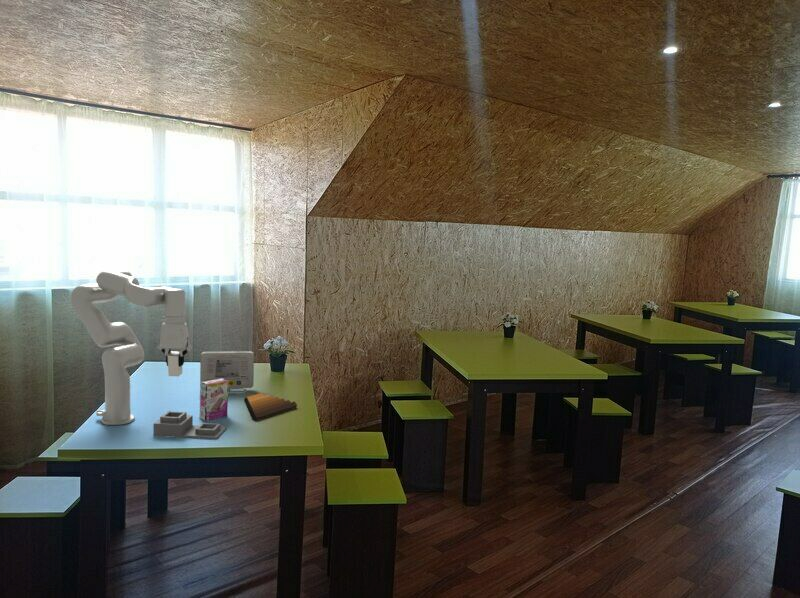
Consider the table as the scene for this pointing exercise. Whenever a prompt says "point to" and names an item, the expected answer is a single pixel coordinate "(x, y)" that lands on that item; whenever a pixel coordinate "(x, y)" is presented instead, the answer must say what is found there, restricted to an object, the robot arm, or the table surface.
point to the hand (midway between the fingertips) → (175, 365)
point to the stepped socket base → (185, 427)
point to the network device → (228, 368)
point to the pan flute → (266, 406)
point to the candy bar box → (213, 399)
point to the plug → (174, 364)
